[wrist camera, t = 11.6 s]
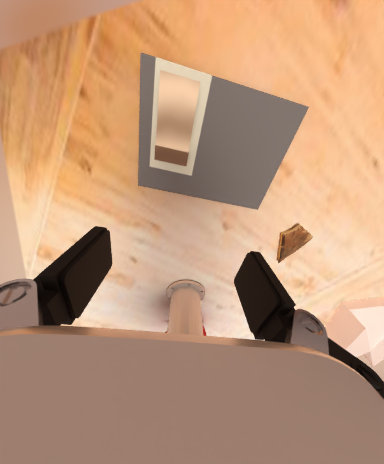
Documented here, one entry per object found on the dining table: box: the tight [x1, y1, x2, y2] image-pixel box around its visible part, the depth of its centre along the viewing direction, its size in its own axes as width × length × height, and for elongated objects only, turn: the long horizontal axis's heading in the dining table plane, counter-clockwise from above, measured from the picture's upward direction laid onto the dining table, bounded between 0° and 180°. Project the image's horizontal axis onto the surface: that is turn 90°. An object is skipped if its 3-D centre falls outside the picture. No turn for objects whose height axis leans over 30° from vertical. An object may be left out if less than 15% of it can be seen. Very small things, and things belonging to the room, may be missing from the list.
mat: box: [138, 53, 309, 210], centre depth 26 cm, size 18×26×1 cm
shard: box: [277, 224, 313, 263], centre depth 38 cm, size 11×8×2 cm
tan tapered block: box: [154, 70, 200, 166], centre depth 22 cm, size 10×5×4 cm, turn 168°
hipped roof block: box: [325, 297, 384, 366], centre depth 63 cm, size 45×22×10 cm, turn 11°
